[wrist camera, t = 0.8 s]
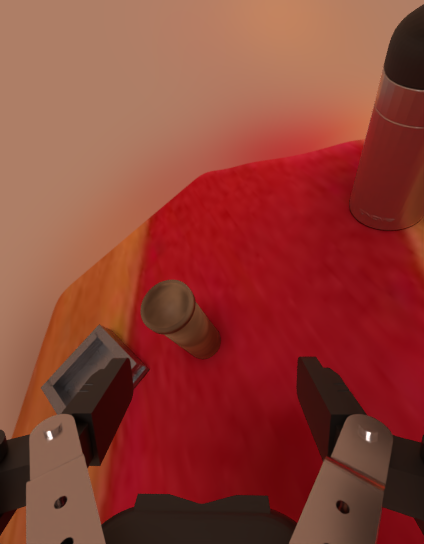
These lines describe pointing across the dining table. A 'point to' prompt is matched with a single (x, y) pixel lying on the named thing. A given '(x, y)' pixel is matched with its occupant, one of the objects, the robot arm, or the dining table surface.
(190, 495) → the dining table surface
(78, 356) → the grey square tray
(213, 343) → the brown capped cylinder
